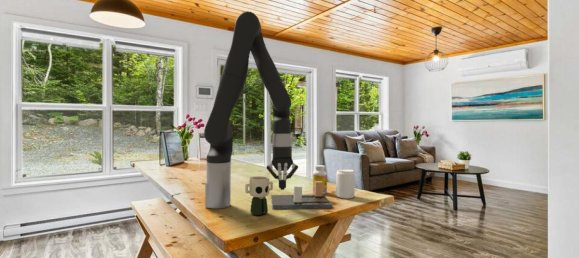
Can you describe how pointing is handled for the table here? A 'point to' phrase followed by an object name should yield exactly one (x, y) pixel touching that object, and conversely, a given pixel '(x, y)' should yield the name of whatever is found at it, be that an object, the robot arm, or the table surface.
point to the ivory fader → (297, 193)
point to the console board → (306, 203)
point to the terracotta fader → (318, 188)
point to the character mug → (259, 193)
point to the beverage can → (345, 183)
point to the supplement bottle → (320, 177)
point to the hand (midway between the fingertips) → (282, 189)
